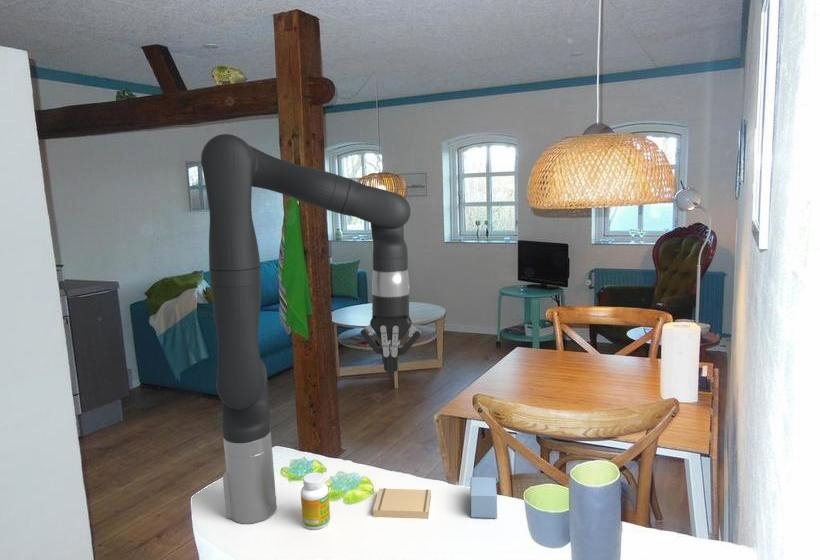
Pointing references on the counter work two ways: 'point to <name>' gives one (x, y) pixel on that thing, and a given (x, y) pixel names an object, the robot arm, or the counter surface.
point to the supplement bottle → (315, 501)
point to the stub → (483, 497)
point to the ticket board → (402, 503)
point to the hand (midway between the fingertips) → (391, 372)
